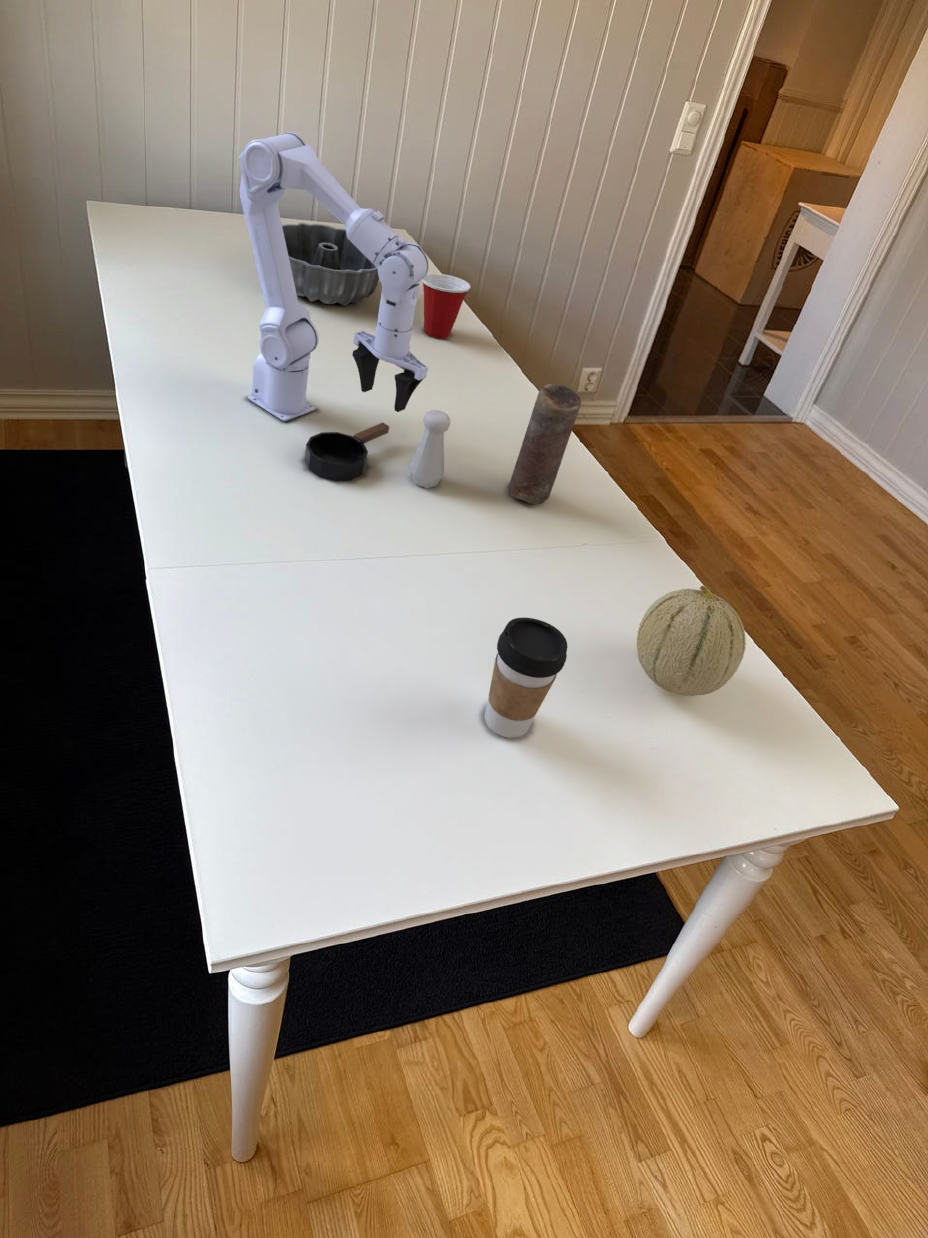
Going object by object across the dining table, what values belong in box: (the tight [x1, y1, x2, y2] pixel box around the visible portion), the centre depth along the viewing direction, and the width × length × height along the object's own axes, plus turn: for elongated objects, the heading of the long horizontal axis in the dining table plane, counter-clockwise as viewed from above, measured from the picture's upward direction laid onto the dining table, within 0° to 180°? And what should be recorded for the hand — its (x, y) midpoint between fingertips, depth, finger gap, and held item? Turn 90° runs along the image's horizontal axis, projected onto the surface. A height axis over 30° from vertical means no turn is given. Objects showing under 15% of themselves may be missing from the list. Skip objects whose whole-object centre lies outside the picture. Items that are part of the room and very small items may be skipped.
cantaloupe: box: [636, 585, 747, 697], centre depth 121 cm, size 15×15×15 cm
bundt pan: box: [282, 222, 380, 306], centre depth 198 cm, size 26×26×10 cm
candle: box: [507, 383, 582, 505], centre depth 147 cm, size 8×7×20 cm
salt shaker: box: [409, 409, 451, 489], centre depth 146 cm, size 6×6×13 cm
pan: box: [304, 422, 390, 482], centre depth 150 cm, size 17×10×4 cm, turn 143°
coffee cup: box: [484, 617, 568, 739], centre depth 108 cm, size 8×8×15 cm
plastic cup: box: [421, 273, 471, 340], centre depth 193 cm, size 11×11×12 cm
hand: (383, 399), depth 150 cm, fingers open, 7 cm apart
